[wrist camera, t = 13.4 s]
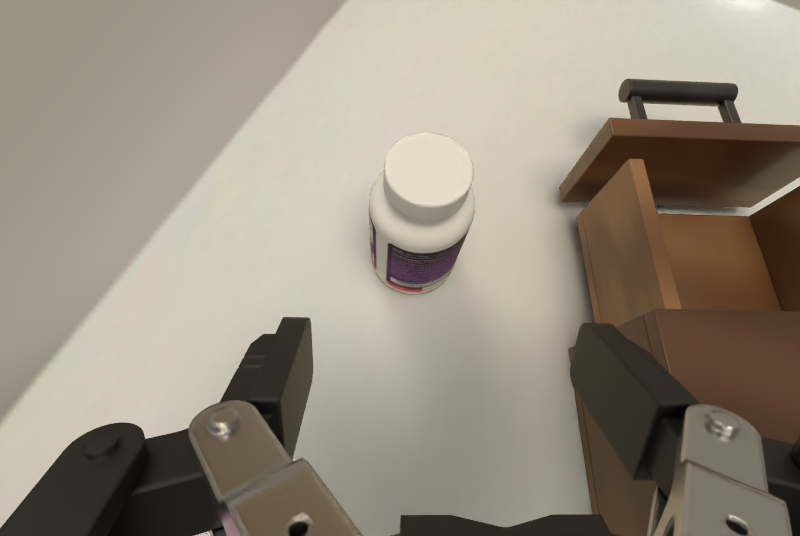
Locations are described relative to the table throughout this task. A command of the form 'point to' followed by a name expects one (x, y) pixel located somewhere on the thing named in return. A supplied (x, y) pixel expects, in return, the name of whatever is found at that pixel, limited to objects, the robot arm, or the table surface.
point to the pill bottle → (420, 212)
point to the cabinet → (701, 391)
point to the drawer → (693, 186)
